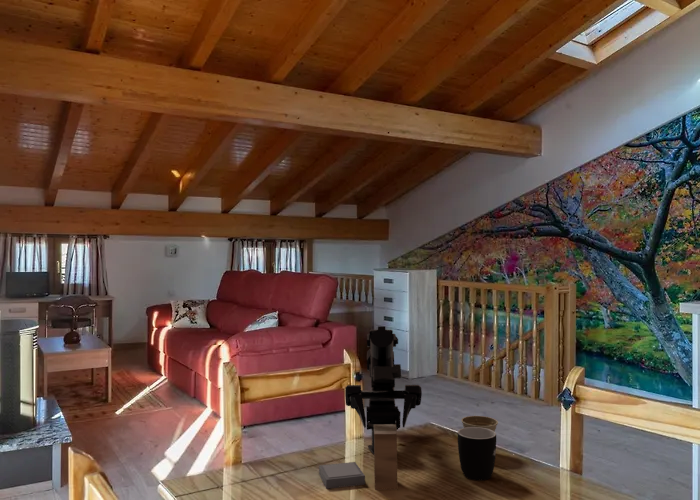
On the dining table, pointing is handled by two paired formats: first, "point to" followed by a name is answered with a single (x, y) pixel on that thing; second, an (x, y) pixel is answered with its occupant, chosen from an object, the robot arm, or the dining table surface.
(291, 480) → the dining table surface
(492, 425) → the flower pot
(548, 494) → the dining table surface
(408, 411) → the robot arm
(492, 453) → the mug
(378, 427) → the brown tall rectangular block
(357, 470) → the slate base
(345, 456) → the dining table surface
